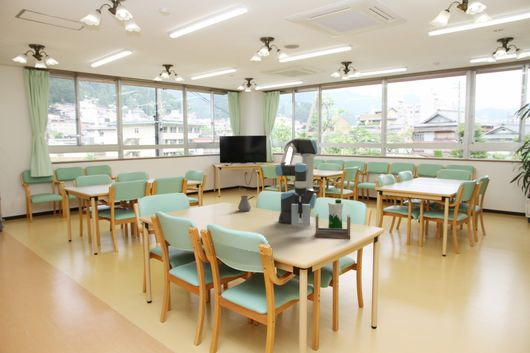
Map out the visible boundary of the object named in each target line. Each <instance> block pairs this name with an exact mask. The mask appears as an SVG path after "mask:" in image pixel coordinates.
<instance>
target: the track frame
mask: <svg viewBox="0 0 530 353" xmlns="http://www.w3.org/2000/svg"><path fill="white" fill-rule="evenodd" d="M319 219H320V218H319V213H315V234H314V235H315V238H318V239H322V238H323V239H345V240H347V239H349V240H350V239H351V214H347V215H346V219H347V220H346V228H342V229H338V228H329V227H319V222H320V220H319Z"/></svg>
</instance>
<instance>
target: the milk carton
mask: <svg viewBox="0 0 530 353" xmlns="http://www.w3.org/2000/svg"><path fill="white" fill-rule="evenodd" d="M343 207H344V203H343V202H342V199H335V200H334V201H331V202H328V228H338V229H343Z"/></svg>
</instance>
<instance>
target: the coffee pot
mask: <svg viewBox="0 0 530 353" xmlns="http://www.w3.org/2000/svg"><path fill="white" fill-rule="evenodd" d="M240 198H241V199H240V201H239V204H238V207H237V209H238V210H239V212H244V213H245V212H249V211H251V208H252V206H251V203H250V202H249V200H250V199H254V198H256V196H253V195H252V196H250V197H249V198H248V195H241V196H240Z"/></svg>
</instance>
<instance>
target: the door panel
mask: <svg viewBox="0 0 530 353" xmlns="http://www.w3.org/2000/svg"><path fill="white" fill-rule="evenodd" d="M297 212H298V204H292V224H291V226H303V227H304V226H305V227H310V226H311V209H310V204H302V212H303V223H298V213H297Z"/></svg>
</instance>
